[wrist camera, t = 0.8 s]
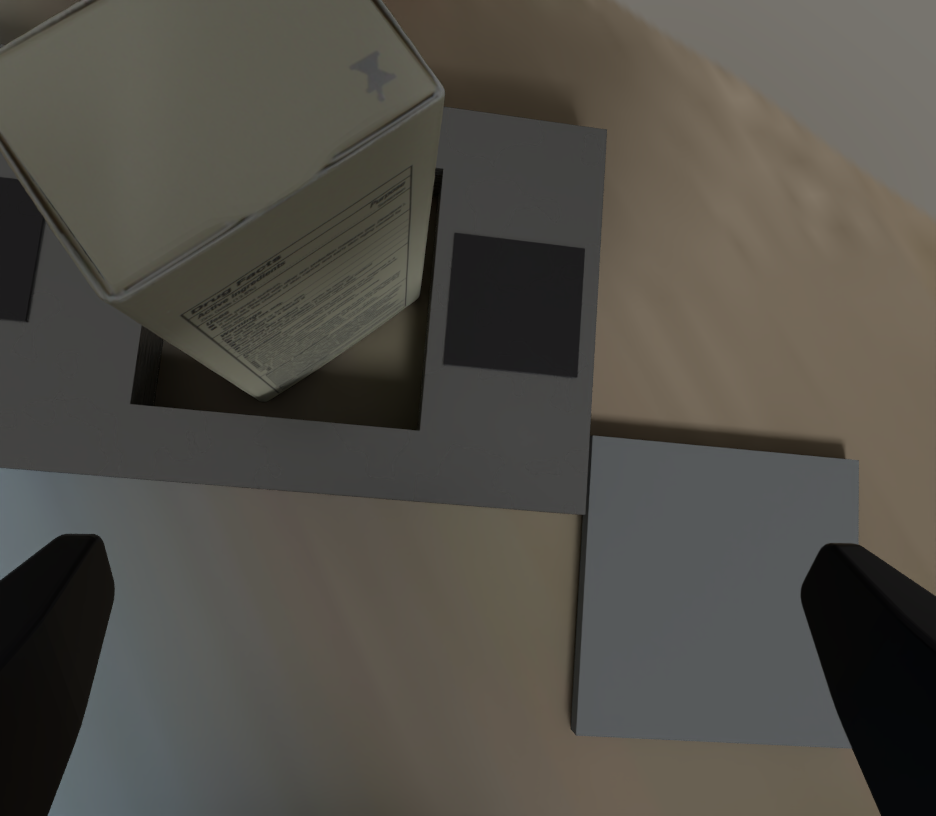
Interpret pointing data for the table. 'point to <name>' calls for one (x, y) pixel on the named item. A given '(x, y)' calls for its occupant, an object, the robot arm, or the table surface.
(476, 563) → the table surface
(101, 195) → the skincare box
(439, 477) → the grey black flat block
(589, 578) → the pad
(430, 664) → the table surface
